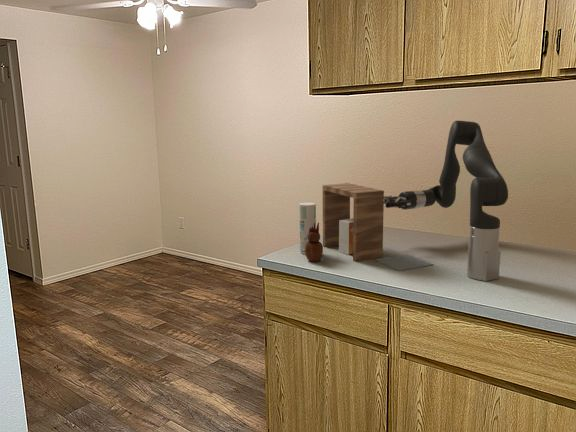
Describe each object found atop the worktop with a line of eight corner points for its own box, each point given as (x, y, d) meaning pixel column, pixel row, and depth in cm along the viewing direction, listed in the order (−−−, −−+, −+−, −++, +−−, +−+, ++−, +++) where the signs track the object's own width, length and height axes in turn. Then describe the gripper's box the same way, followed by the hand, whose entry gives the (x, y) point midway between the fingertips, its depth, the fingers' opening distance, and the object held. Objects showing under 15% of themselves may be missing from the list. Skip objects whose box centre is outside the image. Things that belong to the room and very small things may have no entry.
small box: (348, 255, 194) (348, 222, 191) (338, 251, 199) (338, 220, 196) (364, 251, 198) (364, 220, 195) (353, 248, 203) (354, 217, 201)
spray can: (318, 253, 196) (318, 204, 192) (303, 255, 194) (302, 205, 190) (312, 249, 202) (312, 201, 198) (297, 251, 200) (297, 203, 196)
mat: (433, 265, 179) (433, 264, 178) (399, 270, 172) (399, 269, 172) (407, 255, 192) (407, 254, 192) (375, 260, 186) (375, 259, 186)
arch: (382, 257, 189) (383, 190, 184) (355, 261, 184) (356, 193, 179) (347, 242, 212) (347, 183, 207) (322, 246, 207) (322, 185, 202)
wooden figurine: (325, 260, 187) (325, 221, 184) (316, 263, 183) (315, 224, 180) (312, 257, 191) (311, 219, 188) (302, 260, 187) (301, 222, 184)
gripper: (401, 188, 212) (370, 191, 206) (423, 193, 200) (390, 196, 193) (401, 205, 214) (369, 209, 207) (422, 211, 201) (390, 215, 195)
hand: (379, 203), depth 200 cm, fingers open, 8 cm apart
